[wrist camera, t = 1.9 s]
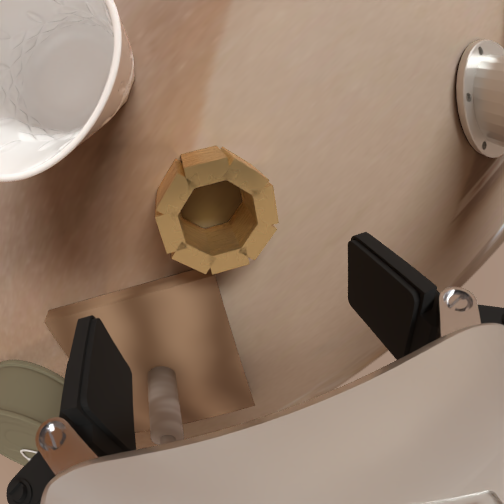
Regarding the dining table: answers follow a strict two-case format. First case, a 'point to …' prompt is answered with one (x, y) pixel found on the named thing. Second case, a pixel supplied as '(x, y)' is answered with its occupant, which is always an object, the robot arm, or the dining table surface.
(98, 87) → the white cup
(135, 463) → the robot arm
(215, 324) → the post block
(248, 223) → the ring
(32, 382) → the can
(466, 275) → the dining table surface
